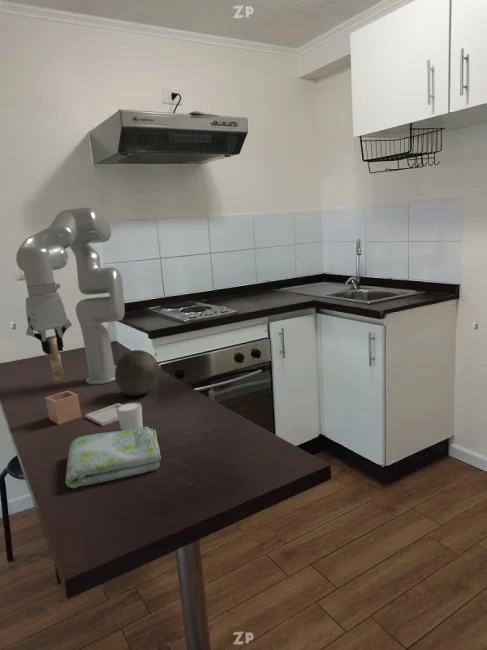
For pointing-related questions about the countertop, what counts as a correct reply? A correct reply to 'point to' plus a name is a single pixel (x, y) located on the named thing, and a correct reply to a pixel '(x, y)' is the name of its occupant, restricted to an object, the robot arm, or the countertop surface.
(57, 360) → the dowel
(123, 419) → the shot glass
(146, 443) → the towel
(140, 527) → the countertop surface
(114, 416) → the tray
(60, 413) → the cup
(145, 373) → the cantaloupe
